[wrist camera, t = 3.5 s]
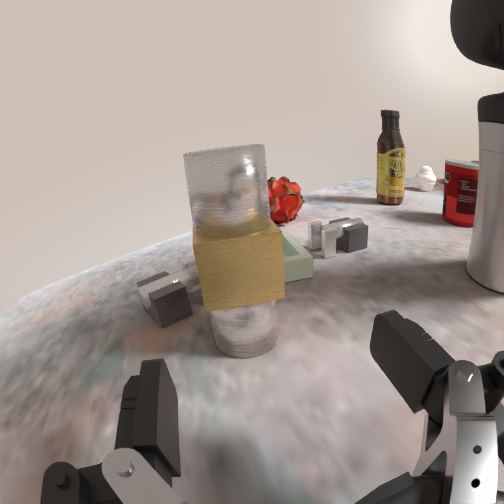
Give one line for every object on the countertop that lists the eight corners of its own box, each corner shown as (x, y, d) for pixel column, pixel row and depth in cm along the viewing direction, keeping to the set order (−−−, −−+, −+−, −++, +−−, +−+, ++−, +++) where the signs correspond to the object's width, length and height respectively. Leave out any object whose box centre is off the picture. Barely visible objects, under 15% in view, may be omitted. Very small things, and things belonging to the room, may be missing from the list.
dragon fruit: (246, 239, 47) (296, 230, 55) (277, 216, 41) (327, 209, 48) (229, 194, 49) (279, 191, 56) (255, 166, 43) (307, 168, 50)
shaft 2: (326, 259, 34) (326, 232, 33) (307, 247, 38) (307, 222, 37) (369, 246, 36) (370, 222, 35) (349, 237, 40) (349, 214, 39)
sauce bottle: (391, 207, 53) (390, 108, 45) (370, 201, 58) (367, 109, 51) (409, 203, 55) (409, 111, 47) (389, 197, 61) (387, 111, 53)
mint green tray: (288, 247, 39) (287, 230, 38) (312, 277, 30) (312, 256, 30) (221, 258, 37) (218, 240, 37) (229, 292, 29) (226, 271, 28)
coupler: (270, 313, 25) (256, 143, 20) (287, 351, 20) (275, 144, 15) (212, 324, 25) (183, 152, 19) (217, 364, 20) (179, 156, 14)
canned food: (453, 212, 48) (456, 159, 43) (484, 223, 41) (489, 166, 36) (434, 217, 45) (437, 158, 41) (468, 230, 38) (473, 166, 34)
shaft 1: (199, 284, 31) (193, 256, 30) (222, 299, 28) (217, 268, 27) (141, 310, 27) (132, 280, 26) (158, 329, 24) (148, 297, 23)
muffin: (439, 193, 64) (440, 167, 61) (421, 192, 64) (422, 166, 61) (428, 188, 69) (429, 164, 67) (411, 188, 70) (411, 163, 67)
